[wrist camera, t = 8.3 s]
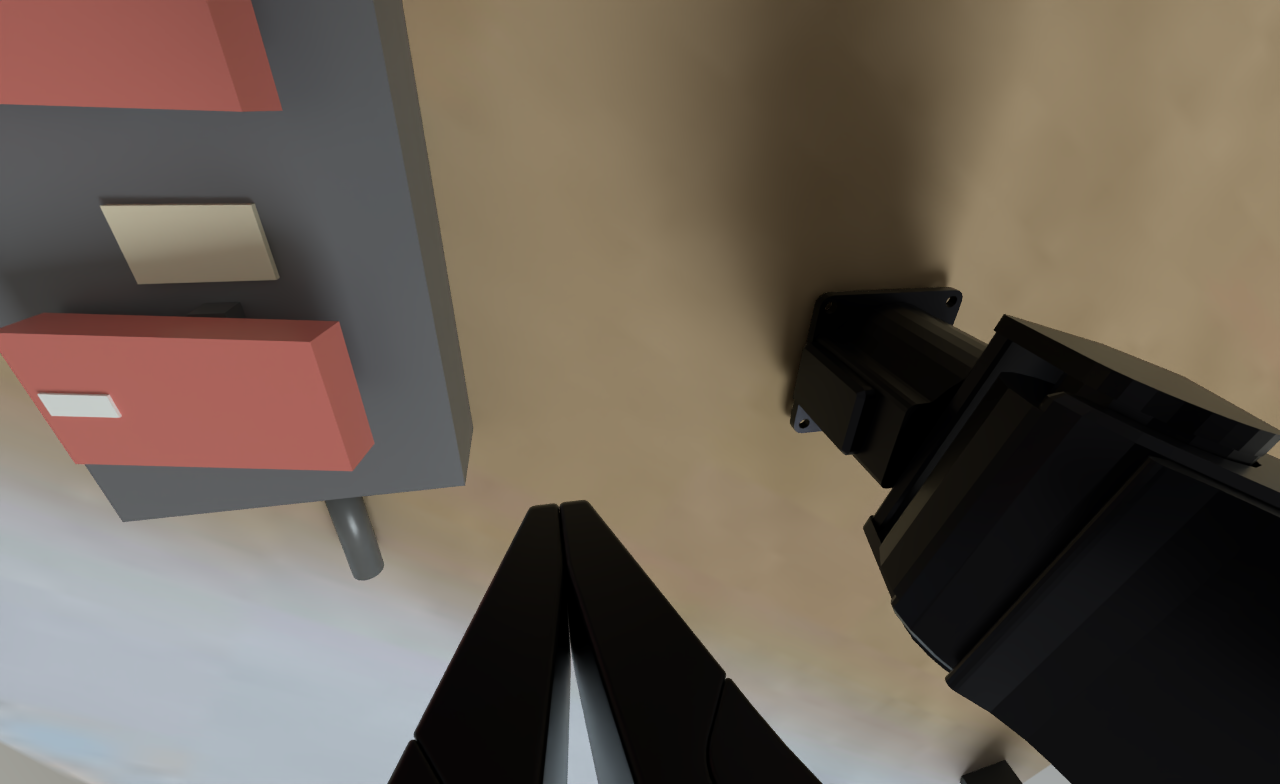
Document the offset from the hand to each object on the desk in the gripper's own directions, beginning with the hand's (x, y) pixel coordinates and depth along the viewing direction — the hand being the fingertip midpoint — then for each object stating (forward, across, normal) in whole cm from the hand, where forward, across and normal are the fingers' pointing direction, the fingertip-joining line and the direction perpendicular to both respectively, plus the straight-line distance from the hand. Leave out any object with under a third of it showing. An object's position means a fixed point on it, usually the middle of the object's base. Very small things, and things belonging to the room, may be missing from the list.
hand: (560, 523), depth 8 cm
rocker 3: (+8, +8, +1) cm, 12 cm away
